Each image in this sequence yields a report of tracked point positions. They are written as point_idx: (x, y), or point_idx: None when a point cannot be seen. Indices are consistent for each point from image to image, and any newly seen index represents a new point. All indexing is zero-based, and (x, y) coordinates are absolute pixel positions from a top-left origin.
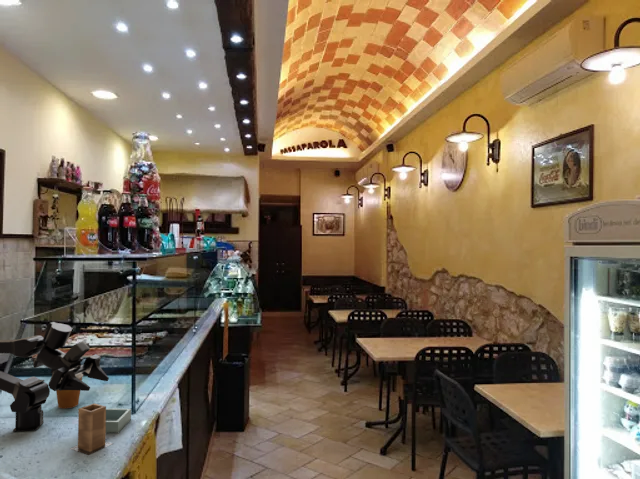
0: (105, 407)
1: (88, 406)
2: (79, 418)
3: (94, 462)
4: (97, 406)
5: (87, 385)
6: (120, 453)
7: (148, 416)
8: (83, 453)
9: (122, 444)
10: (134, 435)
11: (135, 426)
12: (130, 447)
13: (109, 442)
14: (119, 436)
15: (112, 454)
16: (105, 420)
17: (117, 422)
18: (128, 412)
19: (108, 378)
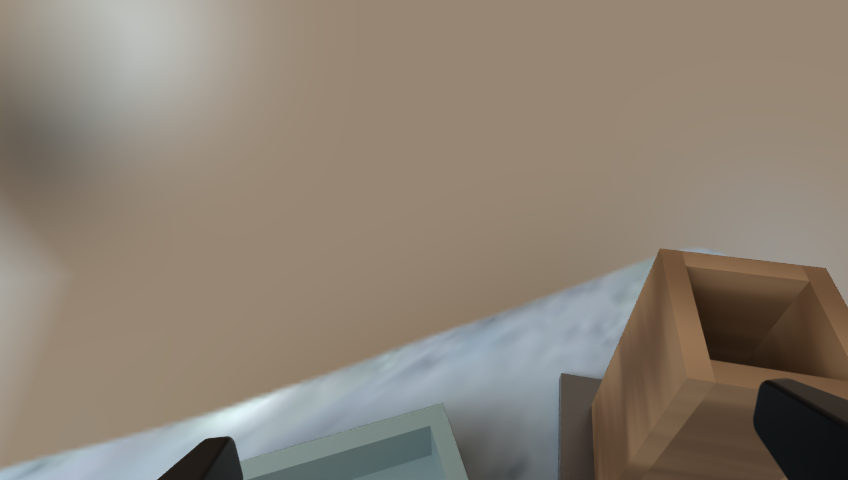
0: (662, 254)
1: (778, 371)
2: None
3: None
4: (694, 318)
5: (826, 404)
6: (597, 306)
7: (140, 444)
8: None
9: (525, 350)
10: (418, 358)
11: (305, 424)
12: (532, 303)
13: (561, 400)
14: (454, 423)
15: (624, 329)
16: (631, 320)
17: (444, 409)
18: (248, 462)
19: (222, 440)
